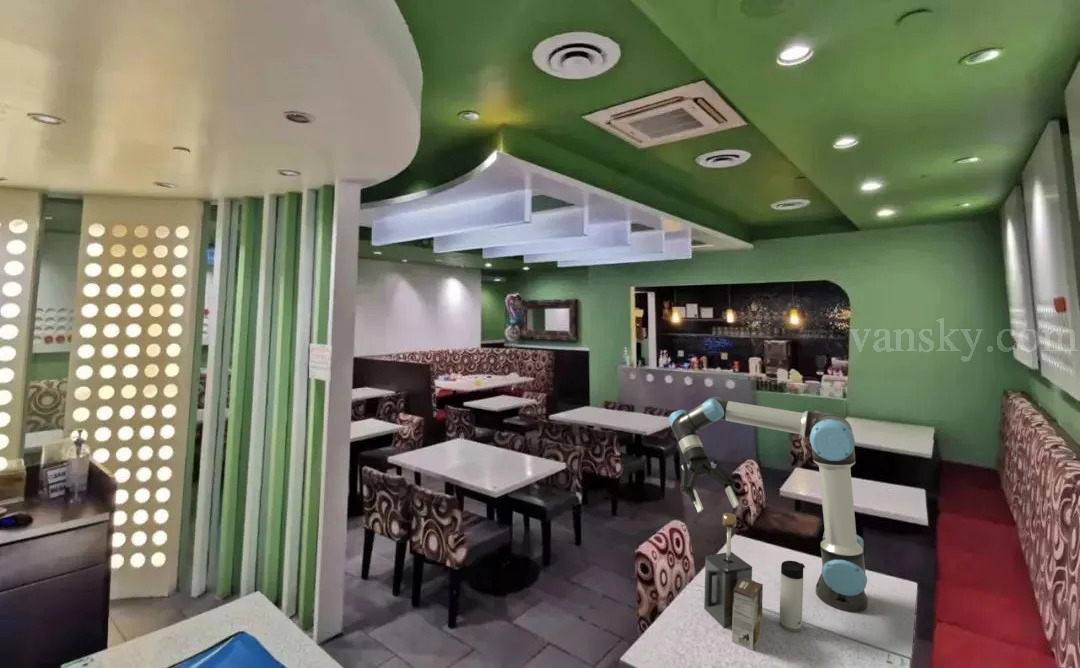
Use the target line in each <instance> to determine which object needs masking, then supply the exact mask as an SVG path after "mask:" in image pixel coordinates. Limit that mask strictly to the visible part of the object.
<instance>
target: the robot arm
mask: <svg viewBox="0 0 1080 668" xmlns="http://www.w3.org/2000/svg"><path fill="white" fill-rule="evenodd" d="M719 420H721V421H727V422H732V423H737V424H742V425H749V426H753V427H758V428H764V429H769V430H775V431H781V432H785V433H791V434H796V435H800V436H801V437H802V438H803V439H807V440H809V441H810V442H809V443H810V445H811V453H812V461H813V462H814V463H815V464H816V465H817V466H818V468H819V469H818V470H819V471H818V472H819V481H820V493H821V504H822V505H821V506H822V515H823V525H824V527H823V529H824V531H823V536H822V541H820V553H821V565H822V566H821V567H822V568H821V573H820V576H819V578H818V580H817V582H816V584H815V594H816V596H817V598H818V599H819V600H820V601H822V602H824V603H825V604H827V605H829V606H830V607H833V608H835V609H839V610H841V611H846V612H854V613H857V612H863V611H865V610H867V608H868V603H869V602H868V600H869V599H868V597H867V594H866V592H865V590H866V588H867V587H866V586H867V583H868V577H867V575H866V565H865V564H866V563H865V554H864V553H865V551H864V547H865V544H864V539H863V538H862V537H861V536H860V535H858V534H857V530H856V529H857V528H856V527H857V525H856V516H855V506H854V495H853V493H854V492H853V484H852V474H851V472H852V470H851V468H852V467H853V466H854V465H855V464H856V453H855V452H856V451H855V445H856V443H855V442H856V440H855V435H854V433H853V429H852V425H851V424H850V422H848V420H846V419H845V418H843V417H842V416H840V415H838V414H834V413H828V412H827V413H826V412H820V411H810V410H805V411H804V412H800V411H799V412H798V411H792V410H786V409H781V408H773V407H767V406H762V405H756V404H755V405H754V404H749V403H745V402H744V403H743V402H737V401H732V400H731V401H730V400H724V399H721V397H717V396H715V397H714V396H713V397H710V398H707V399H706V400H705V401H704V402H702V403H701V404H699V405H698V406H696V407H695V408H693V409H691V410H690V411H687V410H686V409H679V410H675V411H673V412H671V413H670V415H669V417H668V421H669V424H670V427H671V430H672V432H673V434H674V436H675V438H676V441H677V442H678V445H679V448H680V450H681V452H682V454H683V458H684V459H685V462H683V464H682V465H681V466H680V470H681V484H680V485H681V486H680V491H681V492H682V493H685V494H686V495H688V496H689V498H690V501H691V502H692V503H693V504H694V507H695V508H696V511H697V513H701V512H702V511H703V510H704V507H703V504H702V501H701V500H700V497H699V495H698V492H697V491H696V489H694V486H695V484H696V481H697V478H698V477H707V476H708V477H709V478H712V479H713V480H714V481H716V482H717V483H718V484H719V485H721V486H723V487H724V488H725V489H724V491H725V494H726V496H727V498H728V500H729V501H730V505H731V507H732V508H733V509H736V508H737V507H738V506H739V505H740V504H739V501H738V499H737V497H736V496H737V494H736V492H735V490H734V488H733V487H734V486H735V484H736V481H735V479H734V478H733V477H732V476H731V475H730V474H729V473H728V472H727V470H725V469H724V468H723V467H722V466H721V465H720V463H719V462H718V460H717V459H714V460H713V461H709V459H708V454H707V452H706V450H705V448H704V447H703V443H702V441H701V440H700V438H699V435H698V432H699V431H701V430H702V429H704V428H706V427H708V426H709V425H711V424H713V423H715V422H717V421H719ZM689 471H691V472H692V473H691V476H690V480H689ZM688 481H689V482H688Z"/></svg>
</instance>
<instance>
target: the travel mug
mask: <svg viewBox="0 0 1080 668" xmlns="http://www.w3.org/2000/svg"><path fill="white" fill-rule="evenodd" d="M805 567H806V566H805V565H804V563H802V562H799V561H796V560H785V561H783V562H781V566H780V587H779V590H780V591H779V592H780V593H779V594H780V595H779V618H778V619H779V620H778V621H779V625H780V626H781V628H783V629H784V630H786V631H789V632H793V633H796V632H797V633H798V632H800V631H801V630H802V629H803V628H802V627H803V600H804V599H803V598H804V569H805Z"/></svg>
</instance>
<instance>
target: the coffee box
mask: <svg viewBox="0 0 1080 668" xmlns="http://www.w3.org/2000/svg"><path fill="white" fill-rule="evenodd" d="M763 585H764V584H763V583H761V582H757V581H756V580H755V581H754V580H753V579H752V580H750V579H747V578H744V577H741V579H740V580H739V582H738V583H737V585H736V586H735V588H734V589H733V622H732V626H731V628H732V629H731V631H732V632H731V642H733V643H735V644H737V645H739V646H741V647H744V648H747V649H749V650H751V651H755V648H756V646H757V645H758V642H759V641H760V638H761V636H762V633H763V631H762V630H763V621H762V620H763V594H764V593H763V589H764V588H763Z"/></svg>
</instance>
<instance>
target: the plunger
mask: <svg viewBox="0 0 1080 668" xmlns="http://www.w3.org/2000/svg"><path fill="white" fill-rule="evenodd" d="M722 525H723V526H725V527H726V552H727V555H726V563H730V555H731V552H732V550H731V549H732V548H731V546H732V544H731V543H732V542H731V541H732V528H736V527H737V515H735V514H733V513H731V512H724V513H723V514H722Z"/></svg>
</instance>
